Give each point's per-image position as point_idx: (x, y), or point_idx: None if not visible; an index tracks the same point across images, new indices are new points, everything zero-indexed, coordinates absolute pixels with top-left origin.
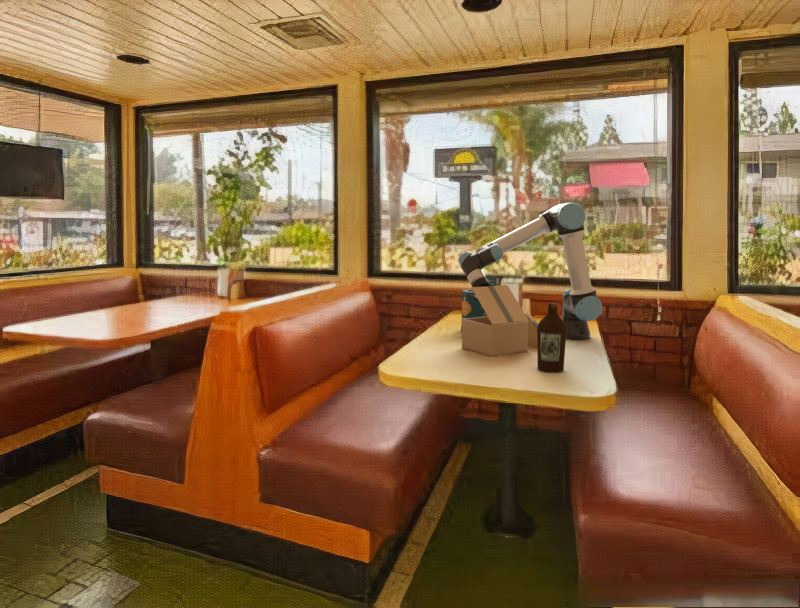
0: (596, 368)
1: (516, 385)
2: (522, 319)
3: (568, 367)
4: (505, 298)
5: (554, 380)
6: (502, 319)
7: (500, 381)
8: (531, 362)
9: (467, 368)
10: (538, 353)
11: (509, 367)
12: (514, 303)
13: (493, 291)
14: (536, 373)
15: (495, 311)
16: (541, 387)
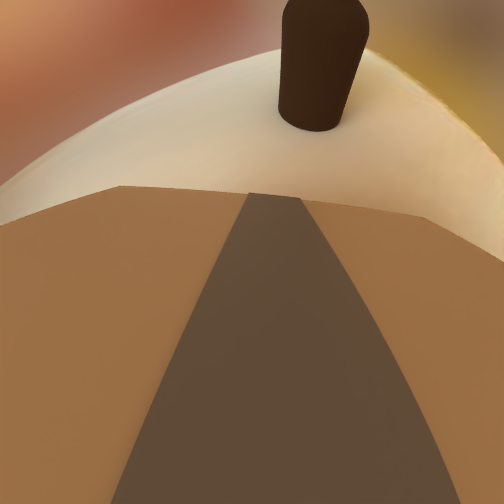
0: (209, 79)
1: (437, 111)
2: (160, 189)
3: (252, 102)
4: (94, 260)
5: (360, 85)
6: (342, 210)
7: (453, 136)
8: (293, 169)
9: (482, 234)
10: (349, 90)
11: (388, 174)
12: (62, 220)
13: (302, 443)
14: (360, 116)
15: (392, 232)
16: (404, 86)
